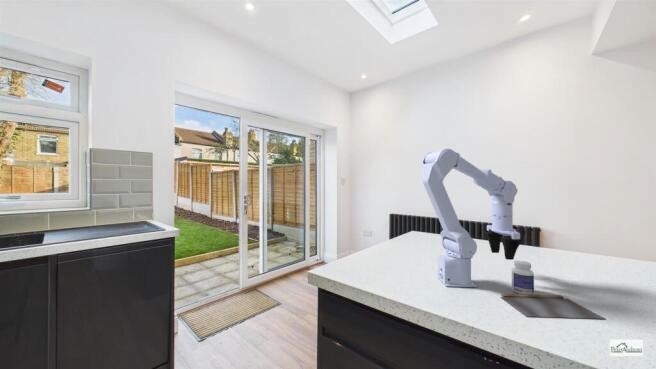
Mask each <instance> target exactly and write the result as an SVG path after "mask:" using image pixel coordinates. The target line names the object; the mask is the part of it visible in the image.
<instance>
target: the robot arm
mask: <svg viewBox="0 0 656 369" xmlns="http://www.w3.org/2000/svg"><path fill="white" fill-rule="evenodd" d="M420 164H421V166H422V183H423V185H424V189H425V190H426V193H427V195H428V198H429V200H430V203H431V205H432V208H433V209H434V211H435V214H436V217H437V219H438V221H439V223H440V225H441V228H442V231H441V232H440V233H439V234H440V237H441V246H442V247H443V249H444V250H445V254H440V255H439V256H438V258H437V260H438V261H437V276H436V277H437V279H439V280H440V282H442V284H443V285H444V286H445V287H452V288H453V287H455V288H456V287H458V288H460V287H461V288H462V287H463V288H477V287H478V285H477V284H475V283H474V282H473V281H472V259H473V256H475V254H476V252H477V250H478V246H477V243H476V240H474V239H473V238H472V237H471V235H470V233H469V232H468V230H466V229H465V228H464V227H463V226H462V225H461V223H460V221H459V218H458V216H457V214H456V210H455V208H454V206H453V204H452V201H451V198H450V196H449V195H448V191H447V189H446V187H445V185H444V180H445V178H446V177H447V175H448V174H449V173H450V172H451V171H452V170H455V171H458V172H460V173H461V174H463V175H466V176H467V177H470V178H472V181H473V183H474V184H475V185H476V186H478V187H479V188H480V187H481V188H482V189H484V190H486V191H487V193H488V195H489V196H490V197H491V224H487V225H486V231H484V235H485V236H486V239H487V241H488V244H489V247H490V251H491V253H493V254H495V253H496V254H499V253H500V251H501V250H500V248H501V243H502V246H503V251H504V258H505V260H506V261H507V260H509V261H510V260H511V261H512V260H513V261H514V260H515V259H514V258H515V256H516V253H517V250H518V249H519V247H520V245H521V244H522V242H523V239H522V238H521V233H520V232H518V231H517V229H515V228H513V224H514V222H513V219H514V218H513V216H514V215H513V208H514V207H513V206H514V205H513V203H515V197H516V195H517V194H518V190H519V189H518V188H517V185H516V184H515V183H514V182H513V181H512V180H504V179H503V177H502V176H499V175H497V174H495V173H493V170H492V169H489V168H488V169H487V168H482V169H479V168H478V167H477V166H475V165H474V164H472V163H471V162H469V161H468V160H466V159H465V158H464V157H462V156H461V154H460V153H459V152H456V151H454V150H453V149H451V148H445V149H441V150H436V151H430V152H427V153H426V154H425V155H424V157H423V159H422V160H421V162H420ZM503 236H505V237H503Z"/></svg>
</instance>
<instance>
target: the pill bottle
mask: <svg viewBox="0 0 656 369" xmlns="http://www.w3.org/2000/svg"><path fill="white" fill-rule="evenodd" d="M513 261H514V264H513V265H514V267H513V268H512V269H511V290H512V291H513V292H514V293H515V294H531V295H535V294H534V293H535V273H534V271H533V270H531V269H532V263H531V262H529V261H526V260H513Z"/></svg>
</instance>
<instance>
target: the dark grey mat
mask: <svg viewBox="0 0 656 369" xmlns="http://www.w3.org/2000/svg"><path fill="white" fill-rule="evenodd" d="M500 294H501V296H500V299H502V300H503V301H504V302H506V303H507V304H508V305H510V306H511V307H512V308H514V309H515V310H516V311H518V312H519V313H520V314H522V315H523V316H524V317H526V318H546V319H547V318H549V319H551V318H552V319H576V320H577V319H579V320H580V319H581V320H606V317H603V316H601V315H599V314H598V313H596V312H594V311H592V310H590V309H588V308H586V307H585V306H583V305H581V304H579V303H576V302H575V301H573V300H571V299H569V298H565V297H564V296H562V295H557V294H533V295H531V294H519V293H500Z"/></svg>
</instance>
